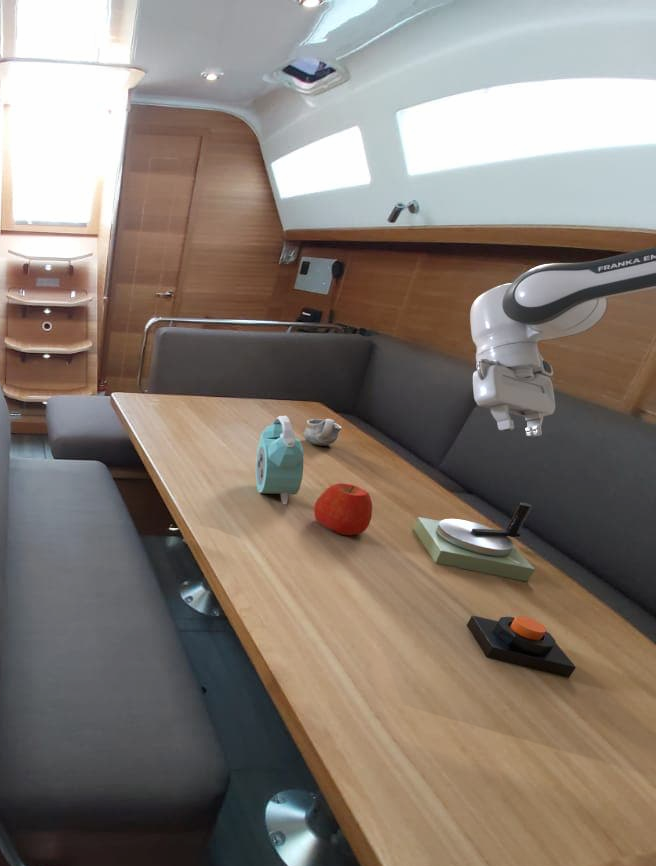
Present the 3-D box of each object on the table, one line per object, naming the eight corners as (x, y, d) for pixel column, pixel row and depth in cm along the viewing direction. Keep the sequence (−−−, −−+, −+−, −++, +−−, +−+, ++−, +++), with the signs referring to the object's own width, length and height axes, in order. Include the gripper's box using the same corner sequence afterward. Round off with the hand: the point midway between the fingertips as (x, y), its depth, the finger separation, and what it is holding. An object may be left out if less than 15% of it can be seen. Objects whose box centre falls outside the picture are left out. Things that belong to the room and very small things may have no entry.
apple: (304, 527, 112) (318, 485, 107) (316, 510, 119) (330, 470, 115) (359, 546, 105) (377, 502, 101) (368, 527, 113) (385, 485, 108)
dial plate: (493, 543, 109) (500, 531, 107) (527, 581, 96) (535, 568, 95) (412, 528, 113) (417, 516, 112) (435, 562, 101) (441, 550, 99)
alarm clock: (298, 511, 119) (324, 432, 110) (256, 504, 121) (277, 427, 112) (283, 481, 134) (304, 410, 125) (245, 476, 136) (264, 405, 127)
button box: (540, 642, 81) (553, 623, 79) (568, 678, 74) (583, 658, 72) (466, 625, 84) (476, 606, 82) (486, 657, 77) (498, 638, 75)
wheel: (507, 534, 106) (527, 498, 102) (536, 564, 96) (559, 525, 92) (428, 520, 110) (444, 485, 106) (448, 547, 100) (466, 509, 96)
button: (533, 628, 78) (539, 620, 78) (545, 643, 75) (551, 635, 75) (505, 622, 80) (510, 613, 79) (516, 637, 76) (521, 628, 76)
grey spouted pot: (329, 440, 164) (339, 411, 160) (342, 454, 153) (353, 423, 149) (297, 437, 166) (306, 408, 162) (308, 450, 155) (318, 420, 151)
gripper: (497, 350, 92) (510, 421, 89) (557, 368, 99) (571, 435, 97) (457, 363, 98) (468, 430, 95) (516, 380, 105) (528, 443, 102)
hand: (520, 433), depth 96 cm, fingers open, 8 cm apart
